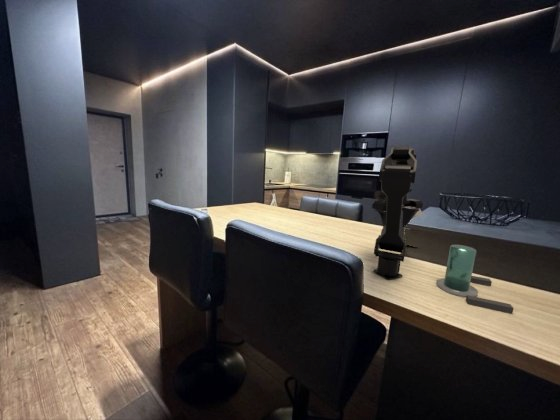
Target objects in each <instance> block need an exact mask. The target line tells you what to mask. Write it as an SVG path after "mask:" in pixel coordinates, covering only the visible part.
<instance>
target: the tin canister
mask: <svg viewBox="0 0 560 420" xmlns="http://www.w3.org/2000/svg"><path fill="white" fill-rule="evenodd" d="M476 256H477V249H475V248H474V247H471V246H468V245H464V244H463V245H462V244H450V247H449V253H448V258H447V264H446V268H445V269H446V270H445V274H444V275H445V276H444V278H445V280H444V285H445V286H447V287H448V288H450V289H453V290H456V291H461V292H466V291H468V290H469V286H470V285H471V282H470V281H471V276H473V270H474V265H475V261H476V260H475V259H476Z"/></svg>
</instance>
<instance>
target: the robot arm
mask: <svg viewBox="0 0 560 420" xmlns="http://www.w3.org/2000/svg"><path fill="white" fill-rule="evenodd" d="M415 150H416V149H415V148H413V147H412V146H409V145H405V146H404V145H402V146H401V145H400V146H397V145H396V146H394V147H392V146H391V150H390V153H389V154H388V155H386V157H384V158H383V159H382V160H381V165H380V169H379V175H378V181H379V182H381V185H380V188H381V190H375V191H374V196H373V197H374V199H375V200H374V201H373V202H372V203H371V204H372V205H371V208H372V209H374V211H375V212H377V213H378V214H379V216H380V218H381V221H382V222H381V223H382V226H383V227H382V229H381V233H380V234H379V235H378V237H377V238H375V243H374V249H373V255H374V257H377V258H378V261H377V268H376V269H373V273H375V274H377V275H379V276H381V277H382V278H384V279H386V280H387V281H388V280H394V279H398V278H403V274H401V273H400V270H401V263H403V262H404V261H405V254H406V246H407V245H406V239H404V235H405V232H404V231H405V227H406V226H407V224H408V223H409V222H410V220H411V219H412V218H413V216H414V215H415V214H416V213H417V212H418V211H419V209H420V210H421V209H423V206H424V205H423V204H424V203H423V202H422V200H419V199H414V198H409V193H411V192H412V191H413V190H412V188H411V187H412V184H415V179H416V174H417V173H416V172H417V167H418V160H417V152H416V151H415ZM401 221H402V223H401ZM401 224H402V226H401ZM404 225H405V226H404Z"/></svg>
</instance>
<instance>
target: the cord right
mask: <svg viewBox="0 0 560 420" xmlns="http://www.w3.org/2000/svg"><path fill="white" fill-rule="evenodd" d="M465 301H466V304H467V305H471V306H476V307H480V308H485V309H490V310H494V311H497V312H498V311H499V312H501V313H502V312H503V313H509V314H513V312H514V307H513V306H512V304H511V303H507V302H502V301H497V300H492V299H487V298H483V297H478V296H476V297H474V296H469V295H467V296H466V297H465Z"/></svg>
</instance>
